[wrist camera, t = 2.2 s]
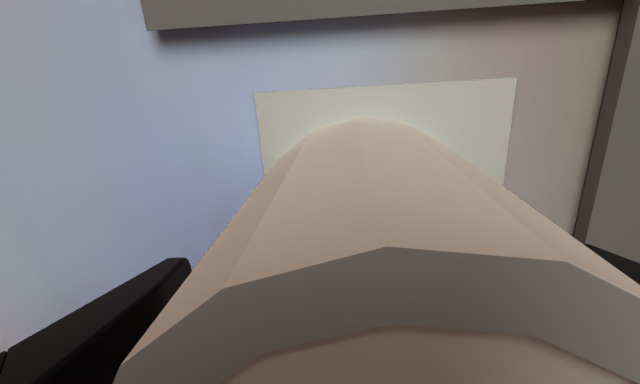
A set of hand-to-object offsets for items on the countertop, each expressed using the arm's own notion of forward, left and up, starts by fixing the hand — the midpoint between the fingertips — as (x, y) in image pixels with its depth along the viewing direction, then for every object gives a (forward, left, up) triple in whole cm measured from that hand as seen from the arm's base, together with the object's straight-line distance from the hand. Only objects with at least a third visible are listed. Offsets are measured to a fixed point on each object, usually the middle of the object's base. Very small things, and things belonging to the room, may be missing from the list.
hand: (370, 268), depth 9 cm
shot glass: (0, 0, -2) cm, 2 cm away
